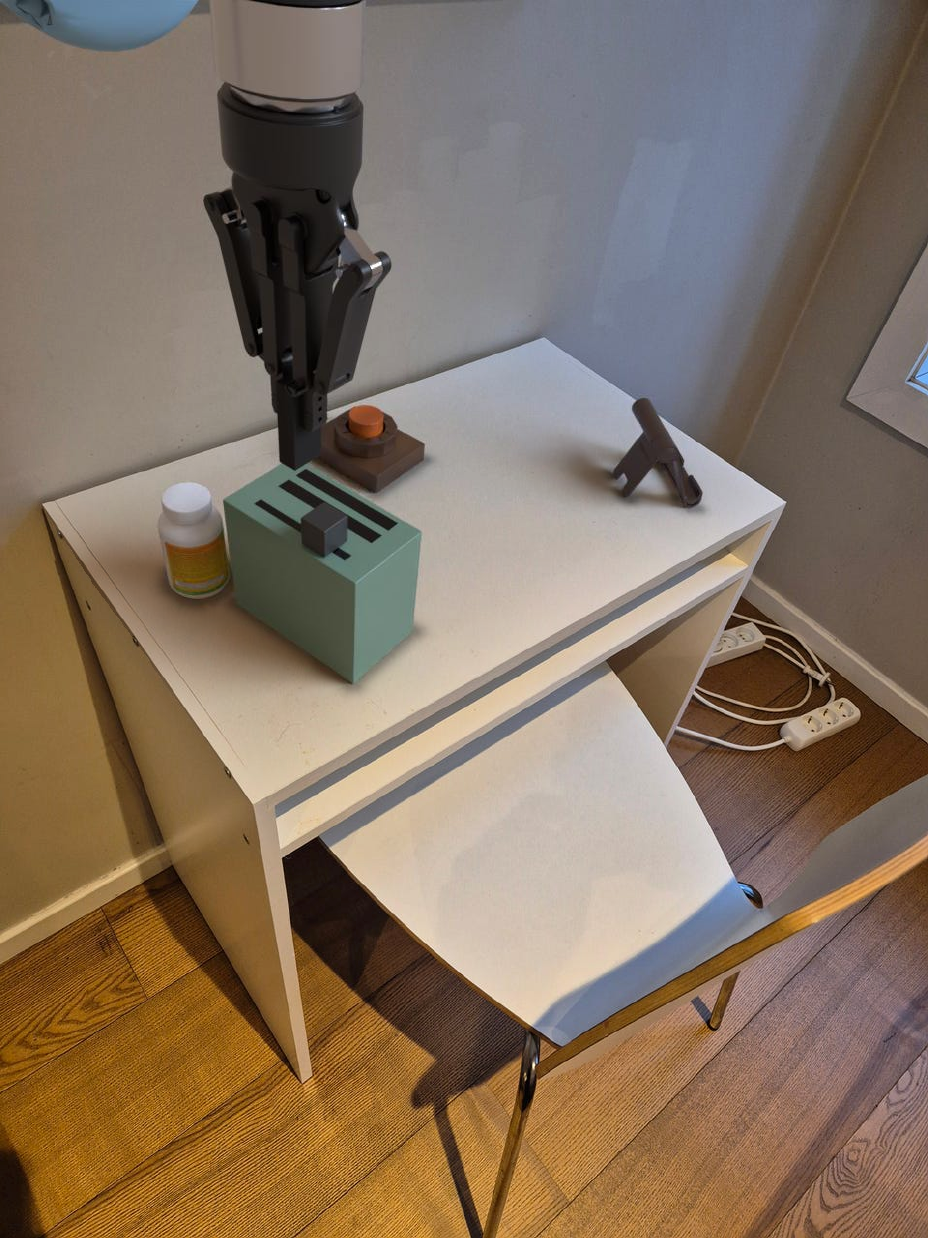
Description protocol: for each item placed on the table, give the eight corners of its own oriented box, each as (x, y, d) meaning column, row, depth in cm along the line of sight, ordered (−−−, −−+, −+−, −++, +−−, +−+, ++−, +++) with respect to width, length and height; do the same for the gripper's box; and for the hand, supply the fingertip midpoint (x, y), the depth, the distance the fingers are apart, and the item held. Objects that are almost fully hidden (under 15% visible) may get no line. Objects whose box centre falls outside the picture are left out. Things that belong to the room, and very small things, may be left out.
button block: (305, 452, 93) (304, 421, 90) (354, 422, 98) (355, 391, 95) (376, 493, 90) (377, 462, 87) (423, 460, 94) (426, 429, 91)
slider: (301, 543, 66) (300, 517, 64) (324, 527, 67) (324, 501, 65) (324, 558, 65) (324, 532, 63) (347, 541, 66) (348, 515, 65)
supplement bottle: (240, 586, 79) (230, 503, 72) (185, 608, 76) (169, 525, 69) (213, 551, 81) (201, 469, 74) (158, 572, 79) (141, 488, 72)
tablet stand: (698, 509, 94) (723, 445, 88) (630, 511, 92) (651, 447, 86) (671, 459, 99) (692, 397, 93) (606, 461, 98) (624, 397, 92)
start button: (341, 428, 91) (341, 414, 89) (364, 414, 93) (364, 400, 91) (367, 443, 89) (367, 428, 88) (389, 428, 92) (390, 414, 90)
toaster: (235, 603, 77) (222, 498, 68) (298, 558, 82) (293, 455, 73) (353, 684, 72) (355, 583, 64) (412, 631, 77) (422, 530, 68)
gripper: (434, 111, 45) (404, 475, 62) (254, 43, 49) (272, 400, 66) (335, 140, 40) (332, 524, 57) (147, 62, 45) (197, 440, 62)
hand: (300, 457), depth 62 cm, fingers closed
